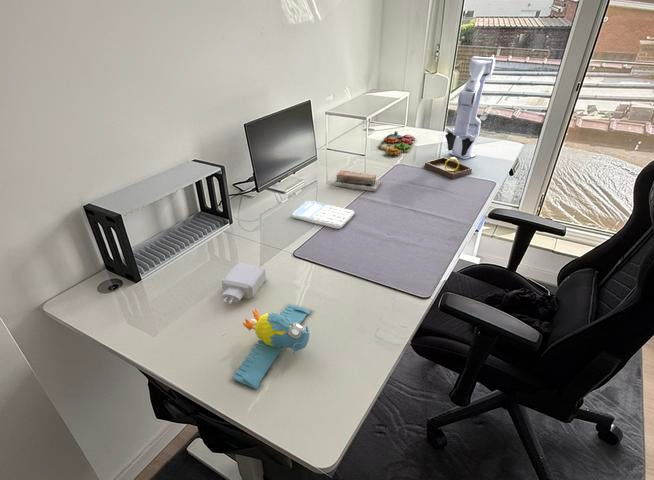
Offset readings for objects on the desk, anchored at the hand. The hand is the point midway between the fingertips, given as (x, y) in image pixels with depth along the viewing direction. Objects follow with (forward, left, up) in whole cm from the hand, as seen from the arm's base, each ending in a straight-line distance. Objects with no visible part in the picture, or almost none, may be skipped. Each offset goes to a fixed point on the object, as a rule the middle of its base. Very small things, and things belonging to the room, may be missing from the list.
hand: (456, 152), depth 186 cm
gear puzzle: (-40, 0, -9) cm, 41 cm away
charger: (+30, -119, -9) cm, 123 cm away
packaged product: (-12, -46, -9) cm, 48 cm away
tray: (-3, -1, -9) cm, 9 cm away
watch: (-1, -1, -9) cm, 9 cm away
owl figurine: (+54, -119, -9) cm, 131 cm away
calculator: (+4, -74, -9) cm, 74 cm away
